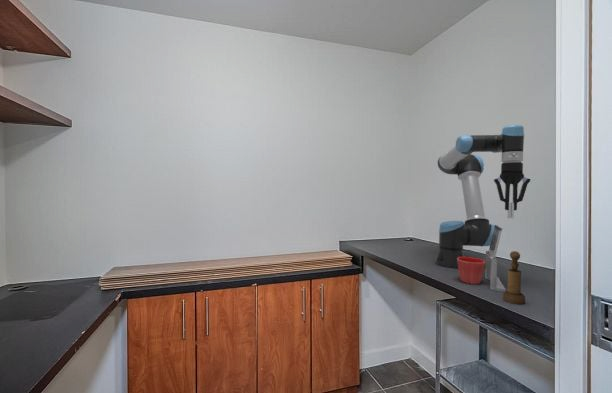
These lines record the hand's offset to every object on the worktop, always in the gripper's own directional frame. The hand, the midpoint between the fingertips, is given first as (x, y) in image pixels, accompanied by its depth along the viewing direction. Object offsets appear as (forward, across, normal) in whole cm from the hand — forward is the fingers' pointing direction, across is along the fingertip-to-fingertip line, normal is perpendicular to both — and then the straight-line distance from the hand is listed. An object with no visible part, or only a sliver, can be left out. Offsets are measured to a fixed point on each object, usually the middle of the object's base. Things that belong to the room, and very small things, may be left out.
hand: (510, 218), depth 126 cm
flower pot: (+29, -14, -3) cm, 32 cm away
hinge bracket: (+28, -5, -3) cm, 29 cm away
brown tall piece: (+29, -2, -22) cm, 36 cm away
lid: (+10, -7, -3) cm, 13 cm away
